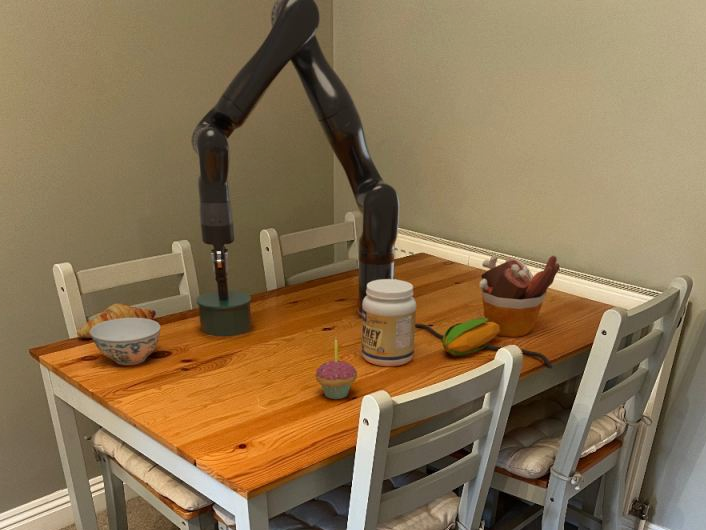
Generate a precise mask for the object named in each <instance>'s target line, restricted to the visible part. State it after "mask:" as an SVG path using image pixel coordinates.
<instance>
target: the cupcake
mask: <svg viewBox="0 0 706 530" xmlns="http://www.w3.org/2000/svg"><path fill="white" fill-rule="evenodd" d="M334 337H335V339H334V341H333V342H334V345H333V346H334V360H330V361H325V362H323V363H322V364H321V365H320V366H319V367H317V369H315V370H316V371H315V377H316V378H315V379H316V382H317V383H318V384H320V386H321V388H322V391H323V394H324V396H325V397H326V398H328V399H330V400H331V399H332V400H342V399H345V398H346V397H347V396H348V395H349V391H350V388H351V385H352V384H353V383H355V382H356V380H357V379H358V371H357V369H356V368H355V367H354V366H353V365H352V364H351V363H349V362H346V361H343V360H339V345H338V343H339V341H338V340H337V335H335V336H334Z"/></svg>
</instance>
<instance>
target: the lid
mask: <svg viewBox="0 0 706 530" xmlns="http://www.w3.org/2000/svg"><path fill="white" fill-rule="evenodd" d="M227 293H228V296H227V297H219V296H218V290H216V291H210V292H206V293H201V294H200V295H199V296H197V297H196V299H195V302H196V304H197V305H198V307H199V306H202V307H205V308H210V309H232V308H238V307H242V306H245V305H247V304H249V303H250V304H251V302H252V297H251V295H250V294H248V293H246V292H243V291H237V290H229V287H228V285H227Z"/></svg>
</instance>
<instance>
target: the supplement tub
mask: <svg viewBox="0 0 706 530" xmlns="http://www.w3.org/2000/svg"><path fill="white" fill-rule="evenodd" d="M366 294H367V296H366V297H365V298H364V300H363V304H362V317H361V355H362V357H363V358H364V360H365V361H366V362H368V363H370V364H373V365H376V366H380V367H397V366H403V365H405V364H408V363H409V362H410V361H411V360H412V359H413V358H414V354H415V340H416V339H415V337H416V327H415V324H416V321H417V320H416V319H417V303H416V300H415V298H414V297H413V295H414V285H413V284H412V283H410V282H408V281H406V280H401V279H397V280H394V279H381V280H375V281H371V282H369V283H368V284H367V290H366Z"/></svg>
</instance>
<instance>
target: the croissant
mask: <svg viewBox="0 0 706 530" xmlns="http://www.w3.org/2000/svg"><path fill="white" fill-rule="evenodd" d="M156 315H157V312H156V310H154V309H152V308H150V309H147V308H140V307H139V308H138V307H136V306H130V305H128V304H126V303H116V302H115V303H114V304H110V305H109V306H107V307H106V308H105V309H104V310H103V311H102V312H99V313H97V314H96V315H95V316H94V317H93V318H92V319H91V320H88V321H86V322H85V323H84V324H83V326H82V327H80V328H77V330H76V334H77V335H78V337H80V338H85V339H92V336H91V334H90V330H91V329H92V328H93V327H94V326H95V325H97V324H99V323H102V322H105V321H109V320H114V319H120V318H144V319H150V320H154V318H155V317H156Z"/></svg>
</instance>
